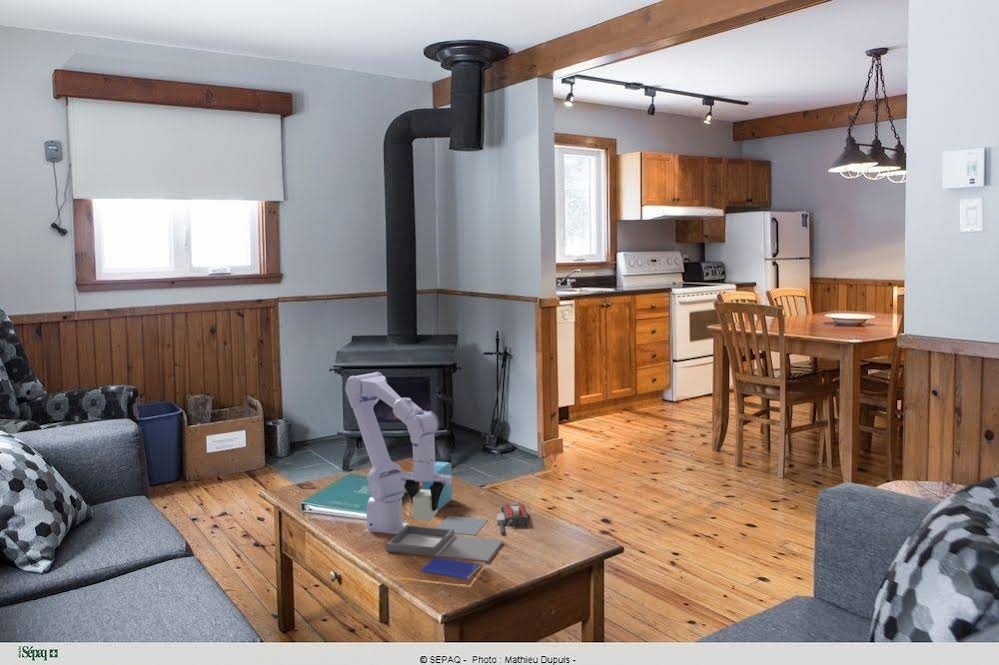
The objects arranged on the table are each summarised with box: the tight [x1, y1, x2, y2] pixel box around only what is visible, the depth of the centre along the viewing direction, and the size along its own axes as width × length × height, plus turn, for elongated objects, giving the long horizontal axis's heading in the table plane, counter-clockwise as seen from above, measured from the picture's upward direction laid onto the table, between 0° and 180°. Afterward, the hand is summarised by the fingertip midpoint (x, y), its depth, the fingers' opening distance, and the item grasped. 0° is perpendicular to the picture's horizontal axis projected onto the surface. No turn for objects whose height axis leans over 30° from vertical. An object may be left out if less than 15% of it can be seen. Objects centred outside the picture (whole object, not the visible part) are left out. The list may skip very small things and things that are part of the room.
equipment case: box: [385, 524, 504, 564], centre depth 206 cm, size 27×14×2 cm, turn 74°
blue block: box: [422, 461, 453, 511], centre depth 238 cm, size 12×4×12 cm, turn 161°
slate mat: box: [436, 515, 489, 536], centre depth 220 cm, size 12×12×1 cm
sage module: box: [412, 488, 439, 522], centre depth 208 cm, size 4×7×6 cm, turn 168°
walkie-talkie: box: [496, 502, 529, 535], centre depth 222 cm, size 9×4×20 cm
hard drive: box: [420, 557, 482, 580], centre depth 192 cm, size 2×8×12 cm
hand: (425, 508), depth 208 cm, fingers closed on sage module, 5 cm apart
